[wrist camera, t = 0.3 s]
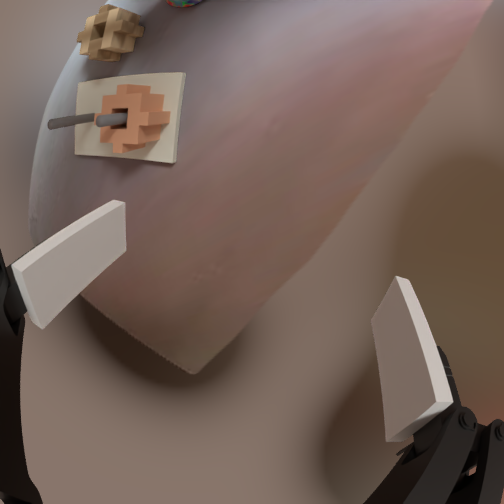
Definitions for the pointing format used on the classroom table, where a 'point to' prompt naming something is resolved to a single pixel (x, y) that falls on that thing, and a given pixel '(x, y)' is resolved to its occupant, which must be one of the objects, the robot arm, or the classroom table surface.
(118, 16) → the gear
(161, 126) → the gear board
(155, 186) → the classroom table surface
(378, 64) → the classroom table surface
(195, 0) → the mug
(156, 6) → the classroom table surface
